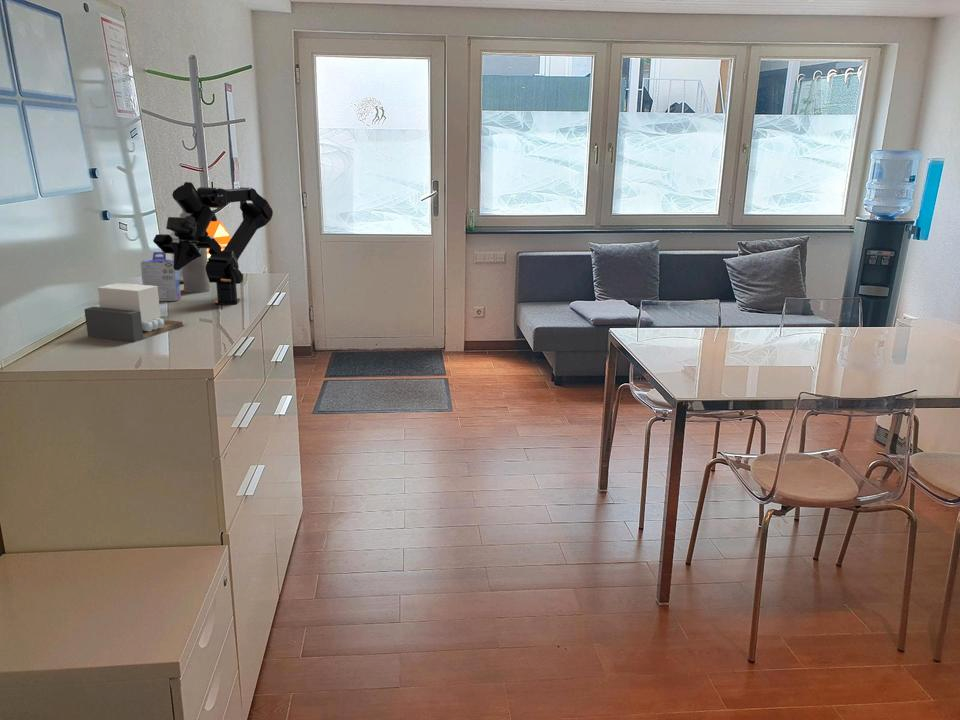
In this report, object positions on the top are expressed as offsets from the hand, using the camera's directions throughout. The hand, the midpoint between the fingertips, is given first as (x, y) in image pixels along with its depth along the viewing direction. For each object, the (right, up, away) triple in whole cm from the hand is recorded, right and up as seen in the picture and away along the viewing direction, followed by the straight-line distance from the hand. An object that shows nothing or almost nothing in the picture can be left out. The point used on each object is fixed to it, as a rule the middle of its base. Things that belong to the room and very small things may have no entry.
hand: (175, 269), depth 205 cm
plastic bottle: (-20, +2, +55) cm, 58 cm away
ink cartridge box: (-14, -6, +26) cm, 31 cm away
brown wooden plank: (-5, -17, -12) cm, 21 cm away
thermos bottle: (-10, -2, +41) cm, 43 cm away
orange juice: (-13, +6, +68) cm, 70 cm away
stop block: (-7, -19, -19) cm, 28 cm away
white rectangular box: (-6, -16, -13) cm, 22 cm away
